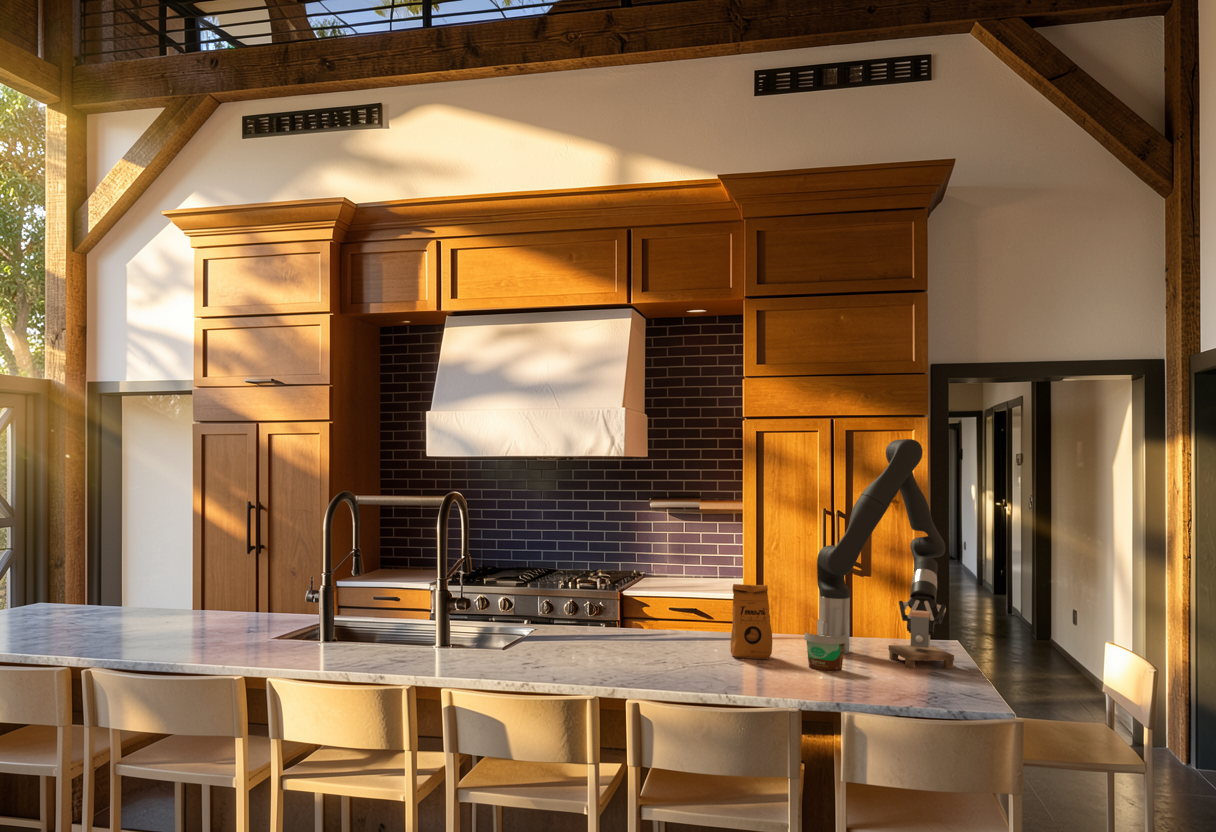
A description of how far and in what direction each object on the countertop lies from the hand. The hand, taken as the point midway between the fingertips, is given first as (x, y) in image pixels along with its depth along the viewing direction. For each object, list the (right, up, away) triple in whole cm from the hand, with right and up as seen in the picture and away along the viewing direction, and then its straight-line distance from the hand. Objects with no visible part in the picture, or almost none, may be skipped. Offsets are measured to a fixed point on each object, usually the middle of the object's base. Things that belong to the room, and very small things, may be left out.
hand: (919, 632), depth 257 cm
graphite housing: (+1, -4, +1) cm, 5 cm away
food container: (-32, -8, -10) cm, 34 cm away
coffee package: (-50, -9, +4) cm, 51 cm away
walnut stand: (+1, -10, +1) cm, 10 cm away
